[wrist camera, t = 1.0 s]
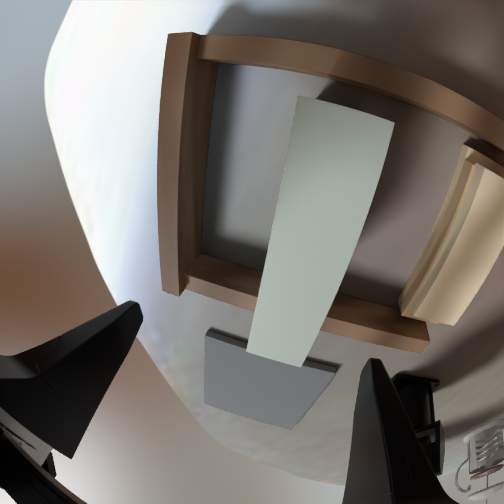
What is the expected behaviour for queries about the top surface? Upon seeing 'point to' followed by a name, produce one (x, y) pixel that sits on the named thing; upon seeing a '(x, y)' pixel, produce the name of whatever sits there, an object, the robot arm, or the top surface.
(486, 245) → the offcut stack
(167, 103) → the brown rectangular shallow frame
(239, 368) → the mat
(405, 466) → the robot arm
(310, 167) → the panel
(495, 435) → the french press
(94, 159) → the top surface
